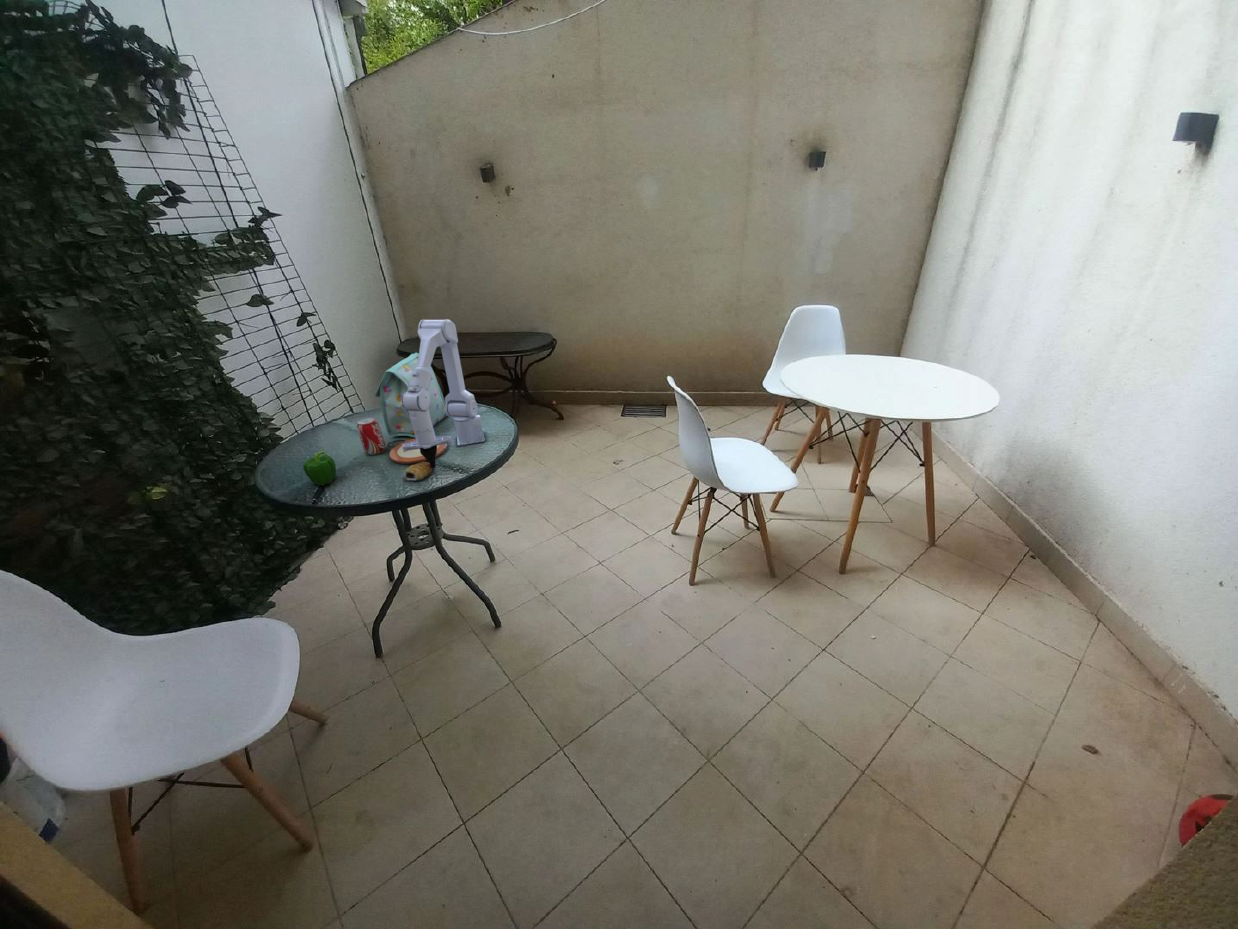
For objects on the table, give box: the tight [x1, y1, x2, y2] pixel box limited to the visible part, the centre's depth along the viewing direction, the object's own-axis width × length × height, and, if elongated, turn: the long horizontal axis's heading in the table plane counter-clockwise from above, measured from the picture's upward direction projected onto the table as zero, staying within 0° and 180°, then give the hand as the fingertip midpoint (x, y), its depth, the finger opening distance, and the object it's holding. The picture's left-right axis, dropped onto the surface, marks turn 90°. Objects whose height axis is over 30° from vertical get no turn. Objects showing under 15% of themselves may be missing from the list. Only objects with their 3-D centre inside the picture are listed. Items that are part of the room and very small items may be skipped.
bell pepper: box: [302, 450, 337, 486], centre depth 150 cm, size 8×8×10 cm
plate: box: [389, 437, 448, 465], centre depth 167 cm, size 19×19×2 cm
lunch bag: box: [374, 352, 448, 439], centre depth 181 cm, size 23×16×27 cm
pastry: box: [402, 461, 433, 482], centre depth 152 cm, size 9×7×4 cm
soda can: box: [356, 416, 387, 456], centre depth 167 cm, size 7×7×12 cm
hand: (433, 466), depth 154 cm, fingers closed
